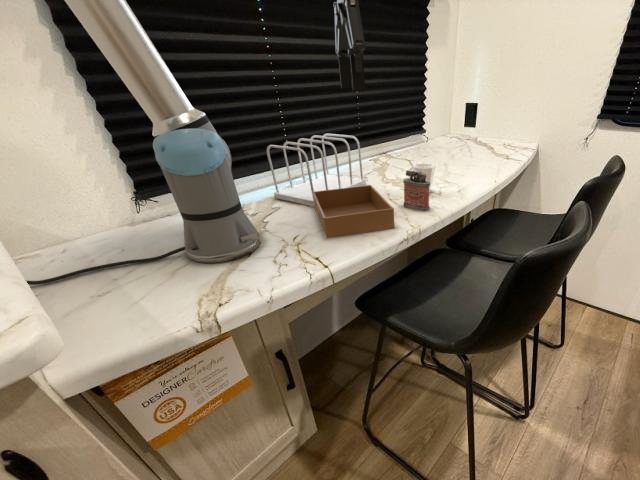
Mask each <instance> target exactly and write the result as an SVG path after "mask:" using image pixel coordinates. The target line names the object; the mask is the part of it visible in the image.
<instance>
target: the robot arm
mask: <svg viewBox="0 0 640 480" xmlns="http://www.w3.org/2000/svg"><path fill="white" fill-rule="evenodd" d="M359 1H360V0H336V1H334V2H333V4H332V5H333V6H332V7H333V11H334V41H335V43H334V44H335V48H334V49H335V54H336V55H337V60H338V69H339V71H338V72H339V80H340V89H352V91H353V92H358V91H359V92H360V91H366V82H365V80H366V79H365V65H364V51H365V50H366V48H367V47H366V40H365V35H364V28H363V24H362V23H363V22H362V17H361V11H360V10H361V9H360V3H359ZM64 2H65V3H66V5H67V6H68V8H69V9H70V10H71V11H72V13H73V14H74V16H75V17H76V18H77V20H78V21H79V23H80V24H81V25H82V27H83V29H85V31H86V32H87V34H88V36H90V38H91V39H92V41H93V42H94V43H95V45H96V46H97V48H98V49H99V50H100V52H101V53H102V55H103V56H104V57H105V59H106V60H107V61H108V63H109V64H110V66H111V67H112V68H113V70H114V71H115V73H116V74H117V76H118V77H119V78H120V79H121V81H122V82H123V84H124V85H125V86H126V88H127V89H128V91H129V92H130V93H131V95H132V97H133V98H134V99H135V100H136V102H137V103H138V105H139V106H140V107H141V108H142V110H143V111H144V113H145V114H146V115H147V117H148V119H150V121H151V123H152V134H151V135H152V136H153V138H154V139H153V142H152V149H153V151H154V157H155V160H156V162H157V164H158V165H159V167H160V170H161V172H162V174H163V176H164V178H165V181H166V183H167V186H168V187H169V190H170V192H171V193H170V194H171V195H172V198H173V199H174V202H175V204H176V207H177V209H178V211H179V214H180V216H181V218H182V222H183V236H184V237H183V240H184V241H183V243H184V246H182V247H179V248H177V249H173V250H171V251H168V252H167V253H164V254H161V255H158V256H153V257H148V258H147V257H146V258H139V259H130V260H123V261H117V262H111V263H107V264H100V265H96V266H91V267H87V268H83V269H78V270H74V271H71V272H68V273H65V274H62V275H56V276H55V277H50V278H47V279H46V278H45V279H40V280H26V281H27V283H28V284H29V285H28V286H34V285H36V286H37V285H38V286H39V285H45V284H50V283H53V282H57V281H60V280H65V279H68V278H71V277H74V276H77V275H82V274H84V273H90V272H94V271H98V270H104V269H108V268H113V267H119V266H124V265H132V264H140V263H149V262H154V261H159V260H163V259H165V258H168V257H171V256H172V255H176V254H179V253H181V252H184V251H185V252H186V255H187V257H188V258H189V259H190V260H191V261H192V262H197V263H201V264H217V263H224V262H229V261H233V260H236V259H237V260H238V259H240V258H242V257H245V256H247V255H249V254H251V253H252V252H254V251H256V250H257V249H258V248H259V247H260V245H261V241H262V240H261V237H260V233H259V232H258V230H257V229H256V227H255V226H254V224H253V222H252V221H251V219H250V218H249V217H248V215H247V214H246V212H245V211H244V209H243V206H242V203H241V200H240V197H239V193H238V190H237V186H236V183H235V180H234V176H233V172H232V164H233V160H232V153H231V151H230V148H229V146H228V145H227V143H226V141H225V140H224V139H223V138H222V136H220V135H219V134H218V132H217V130H216V129H215V127H214V126H213V124H212V122H211V121H210V120H209V118H208V115H206V113H205V112H204V111H201V110H200V109H197V108H195V107H194V106H193V105H192V104H191V102H190V101H189V98H188V97H187V96H186V94H185V93H184V91H183V90H182V89H183V88H181V86H180V84H179V83H178V81H177V80H176V78H175V77H174V74H173V73H172V72H171V71H170V69H169V67H168V66H167V64H166V62H165V60H164V59H163V58H162V56H161V54H160V53H159V51H158V49H157V48H156V47H155V45H154V43H153V42H152V40H151V39H150V37H149V35H148V34H147V32H146V30H145V29H144V28H143V25H142V24H141V22H140V21H139V20H138V18H137V16H136V15H135V13H134V12H133V10H132V8H131V7H130V5H129V4H128V2H127V0H64Z"/></svg>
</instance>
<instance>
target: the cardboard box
mask: <svg viewBox="0 0 640 480" xmlns="http://www.w3.org/2000/svg"><path fill="white" fill-rule="evenodd" d="M312 193H313V199H314V205H315V207H314V209H315V212H316V215H317V218H318V220H319V222H320V226H321V227H322V229H323V233H324V234H325V238H326V239H332V238H339V237H345V236H351V235H357V234H363V233H370V232H376V231H384V230H389V229H395V209H394V207H393V206H392V205H391V204H390V203H389V202H388V201H387V200H386V199H385V198H384V197H383V196H382V195H381V194H380V192H379V191H377V189H375V188H374V187H373V185H372V184H369V185H368V184H366V185H363V186H358V187H350V188H341V189H332V190H324V191H315V192H312Z"/></svg>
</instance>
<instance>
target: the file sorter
mask: <svg viewBox="0 0 640 480" xmlns="http://www.w3.org/2000/svg"><path fill="white" fill-rule="evenodd" d="M315 138H317V139H315ZM345 138H348V139H353V140H354V141H355V142H356V145H357V152H358V160H359V161H358V162H359V171H360V178H359V177H353V172H352V171H353V170H352V157H351V156H352V155H351V148H350V144H349V143H348V141H347V140H346V139H345ZM318 139H321V140H318ZM325 140H330V141H331V140H332V141H339V142H343V143H345V145H346V148H347V153H348V154H347V155H348V170H349V176H346V175H341V173H340V167H339V165H340V164H339V157H338V151H337V147H336V146H335V145H334V144H333V143H332V142H330V141H325ZM302 141H304V142H309V144H307V143H301V142H302ZM313 143H318V144H321V146H322V150H321V148H320V147H319V146H317V145H313ZM287 145H293V146H296V147H292V146H287ZM325 145H329V146H331V147H332V149H333V151H334V157H335V164H336V165H335V166H336V173H335V174H334V173H329V167H328V161H327V153H326V147H325ZM300 147H306V148H310V152H311V159H312V163H313V165H312V166H313V170H314V176H315V177H314V178H312V173H311V168H310V162H309V157H308V155H307V153H306V151H304V149H302V148H300ZM271 148H275V149H282V151H283V157H284V160H285V165H286V170H287V175H288V181H289V185H290V186H289V187H285V188H283V189H280V190H279V185H278V183H277V178H276V175H275V171H274V167H273V163H272V158H271V153H270V150H271ZM314 149H316V150H317V151H318V152H319V154H320V158H321V164H322V172H323V174H322V175H319V176H318V172H317V171H318V170H317V166H316V160H315V154H314V153H315V152H314ZM287 150H292V151H296V152H297V154H298V159H299V165H300V170H301V177H302V180H303V182H300V183H298V184H294V185H293V182H292V177H291V176H292V175H291V170H290V166H289V161H288V156H287ZM301 153H302V154H303V156H304V159H305V164H306V170H307V175H308V180H306V176H305V171H304V166H303V165H304V164H303V160H302V154H301ZM266 156H267V160H268V163H269V166H270V167H269V168H270V171H271V176H272V179H273V183H274V187H275V190H276V191H274V192H273V195H274V196H273V197H274V198H275V199H279V200H282V201H288V202H292V203H295V204H296V203H297V204H302V205H306V206H309V207H314V208H315V205H314V199H313V193H312V192H315V191H324V190H332V189H341V188H350V187H358V186H367V180H366V178H364V174H363V173H364V172H363V165H362V164H363V163H362V153H361V144H360V141H359V139H358V138H357V137H356V136H355V135H347V134H338V133H337V134H336V133H324V134H323V135H318V134H316V135H315V134H314V135H312V136H311V137H310V138H305V137H301V138H299V139H298V140H297V142H295V141H285V142H284V143H283V145H277V144H269V145H268V146H267V147H266Z"/></svg>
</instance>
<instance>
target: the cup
mask: <svg viewBox="0 0 640 480" xmlns="http://www.w3.org/2000/svg"><path fill="white" fill-rule="evenodd" d="M435 170H436V165H435V164H433V163H428V162H420V163H415V164H413V165H412V166H411V167H410V169H409V171H415V172H417V171H421V173H425V174H426V180H425V181H429V182H430V186H429V193H431V190H430V189H431V188H432V185H433V180H434V176H435ZM408 178H410V176H408Z"/></svg>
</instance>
